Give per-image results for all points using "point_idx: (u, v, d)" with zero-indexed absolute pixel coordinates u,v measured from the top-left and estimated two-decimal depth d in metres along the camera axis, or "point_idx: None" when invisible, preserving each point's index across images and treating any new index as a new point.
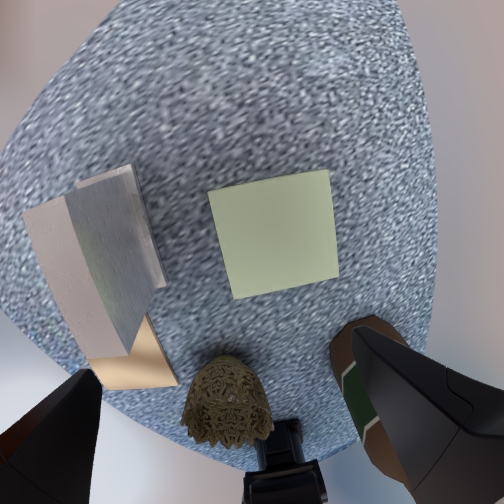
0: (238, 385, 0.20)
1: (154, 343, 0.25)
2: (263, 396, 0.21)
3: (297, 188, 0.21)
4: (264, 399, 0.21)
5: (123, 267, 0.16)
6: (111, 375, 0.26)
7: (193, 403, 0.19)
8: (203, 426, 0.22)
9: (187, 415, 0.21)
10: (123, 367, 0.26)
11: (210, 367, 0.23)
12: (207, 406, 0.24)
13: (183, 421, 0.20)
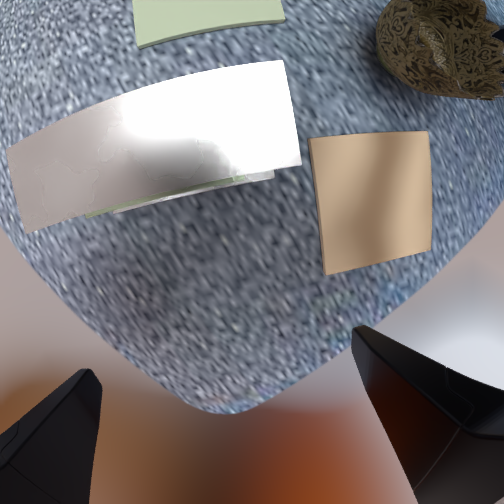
0: (395, 0, 0.08)
1: (357, 138, 0.16)
2: None
3: None
4: None
5: None
6: (409, 231, 0.19)
7: (427, 55, 0.08)
8: (479, 87, 0.10)
9: None
10: (397, 205, 0.18)
11: (383, 50, 0.12)
12: None
13: None
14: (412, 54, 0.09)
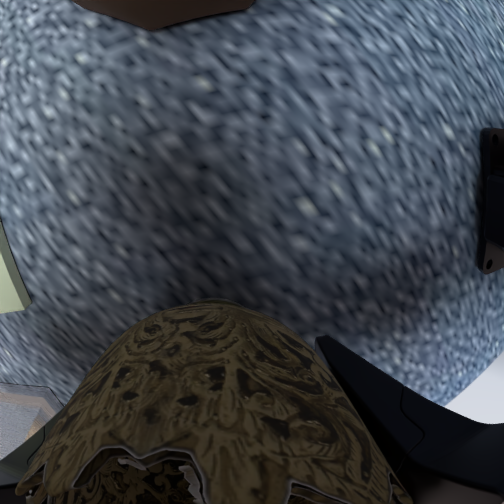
0: None
1: None
2: (76, 406, 0.03)
3: None
4: (69, 420, 0.03)
5: None
6: None
7: None
8: None
9: None
10: None
11: None
12: None
13: None
14: None
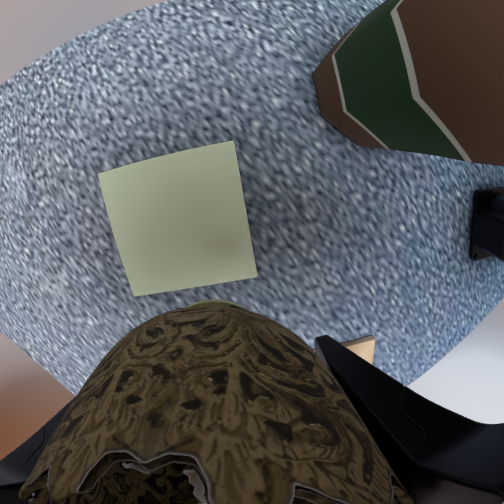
0: None
1: None
2: (79, 410, 0.03)
3: (120, 207, 0.17)
4: (72, 424, 0.03)
5: None
6: None
7: None
8: None
9: None
10: None
11: None
12: None
13: None
14: None
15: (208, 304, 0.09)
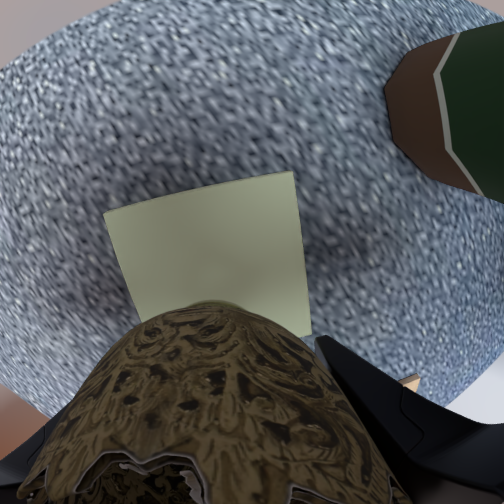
0: None
1: None
2: (76, 410, 0.03)
3: (136, 258, 0.13)
4: (70, 424, 0.03)
5: None
6: None
7: None
8: None
9: None
10: None
11: None
12: None
13: None
14: None
15: (207, 304, 0.09)
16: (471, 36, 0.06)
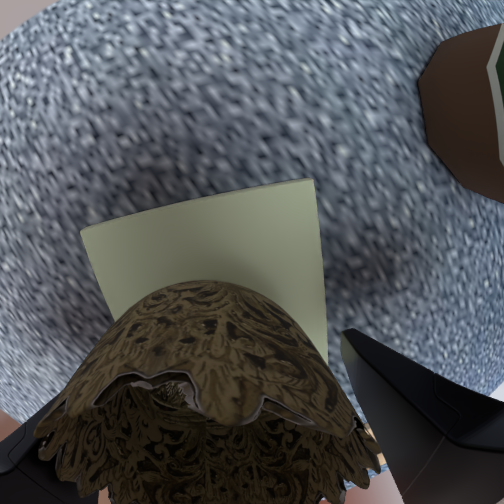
0: None
1: None
2: (94, 356, 0.05)
3: (121, 285, 0.11)
4: (88, 365, 0.04)
5: None
6: None
7: (122, 502, 0.05)
8: (293, 471, 0.07)
9: (223, 495, 0.07)
10: None
11: None
12: None
13: None
14: None
15: None
16: None
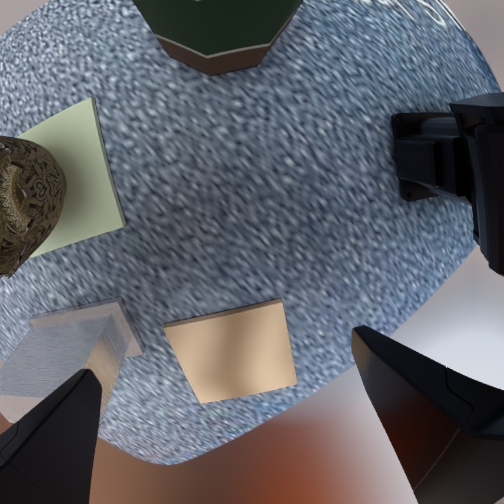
0: None
1: (203, 323, 0.21)
2: None
3: None
4: None
5: (49, 357, 0.14)
6: (269, 376, 0.23)
7: None
8: None
9: (7, 266, 0.11)
10: (251, 362, 0.22)
11: None
12: None
13: None
14: None
15: None
16: None
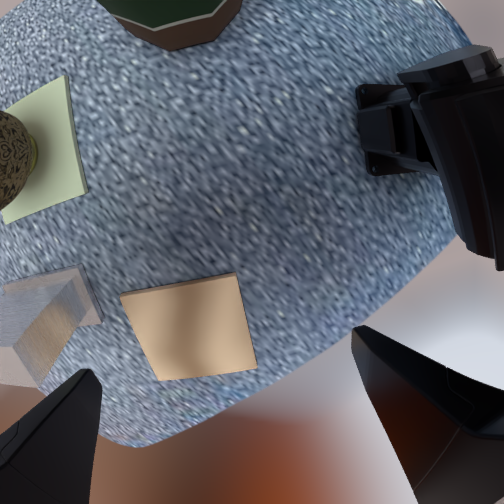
0: None
1: (156, 294, 0.20)
2: None
3: None
4: None
5: (9, 315, 0.14)
6: (226, 357, 0.23)
7: None
8: None
9: None
10: (207, 339, 0.22)
11: None
12: None
13: None
14: None
15: None
16: None
